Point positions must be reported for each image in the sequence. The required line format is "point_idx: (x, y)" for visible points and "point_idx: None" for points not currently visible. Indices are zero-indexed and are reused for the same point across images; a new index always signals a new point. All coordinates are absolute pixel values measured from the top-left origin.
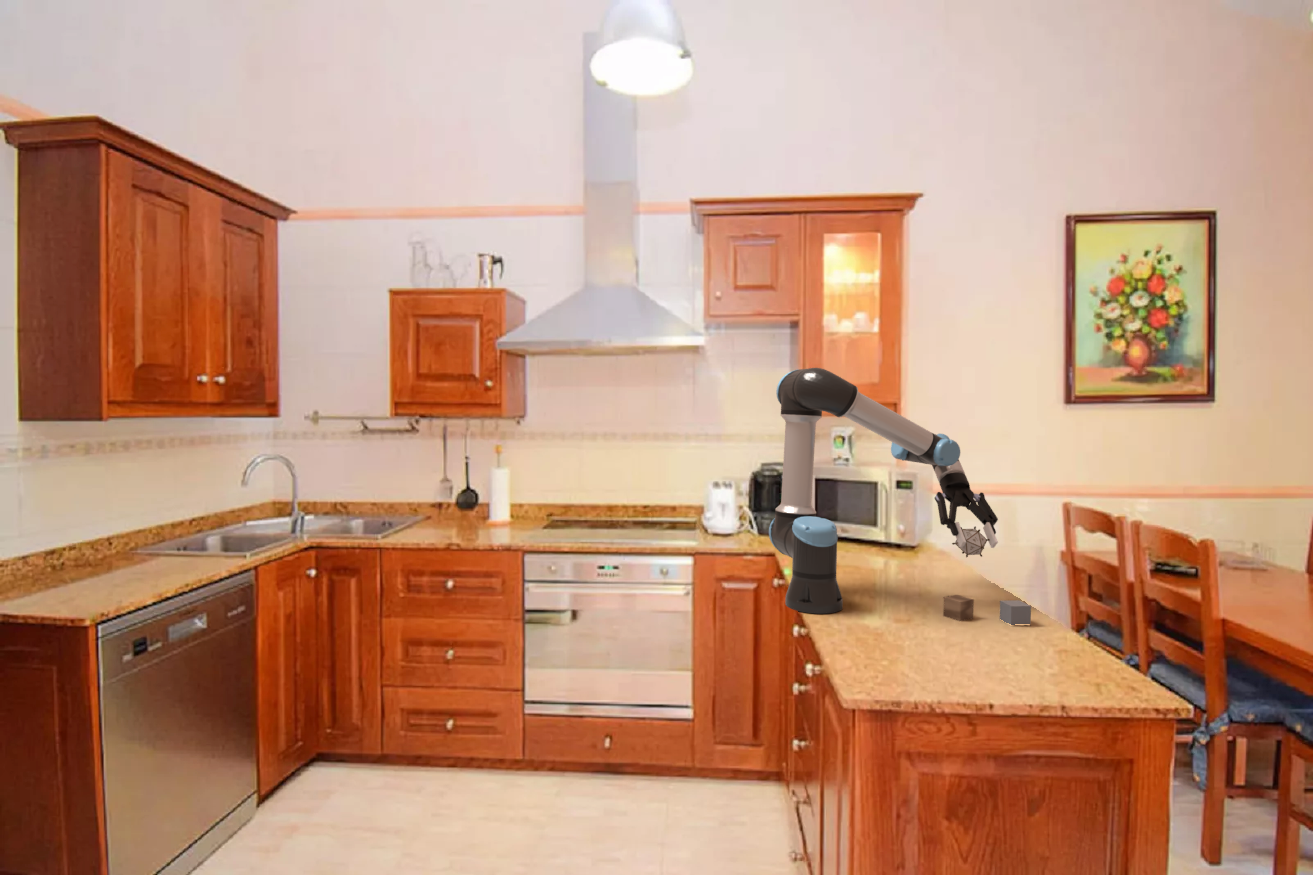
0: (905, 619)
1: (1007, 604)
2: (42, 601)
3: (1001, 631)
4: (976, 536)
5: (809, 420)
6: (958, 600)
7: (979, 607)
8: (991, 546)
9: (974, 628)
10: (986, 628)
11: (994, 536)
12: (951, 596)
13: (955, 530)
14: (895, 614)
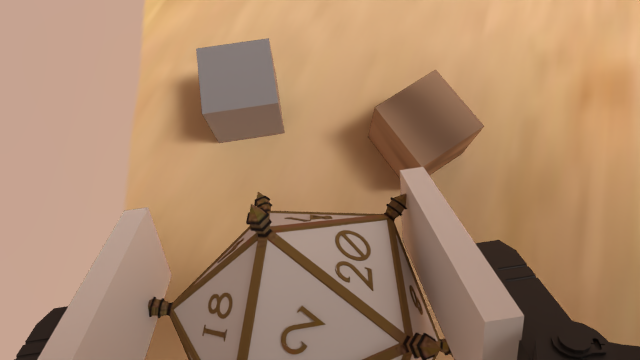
0: (594, 102)
1: (271, 60)
2: None
3: (326, 26)
4: (292, 223)
5: None
6: (437, 87)
7: None
8: (167, 271)
9: (396, 43)
10: (360, 46)
11: (114, 244)
12: (450, 138)
13: (500, 259)
14: (624, 151)
